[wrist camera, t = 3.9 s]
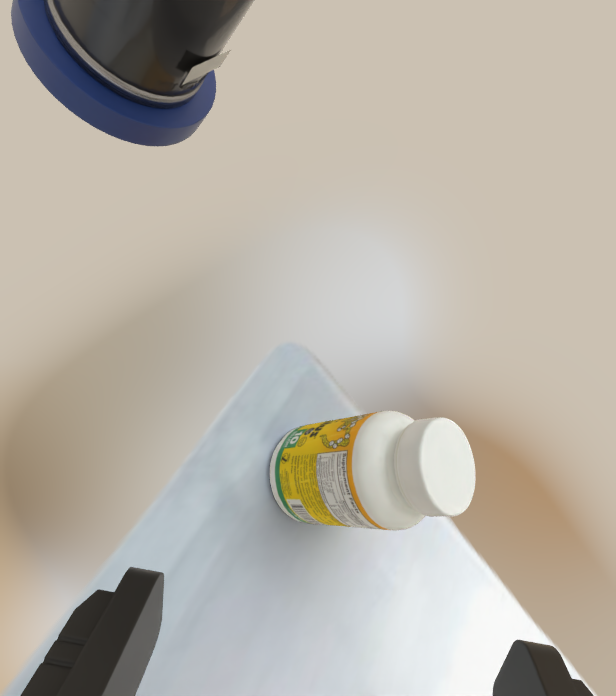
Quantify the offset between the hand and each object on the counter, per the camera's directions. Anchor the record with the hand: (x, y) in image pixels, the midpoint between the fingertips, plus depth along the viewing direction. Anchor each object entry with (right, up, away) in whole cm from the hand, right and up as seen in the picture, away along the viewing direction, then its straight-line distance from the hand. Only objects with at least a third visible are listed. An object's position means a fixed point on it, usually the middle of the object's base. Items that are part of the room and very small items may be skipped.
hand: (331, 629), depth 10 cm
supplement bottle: (-1, -1, +15) cm, 15 cm away
